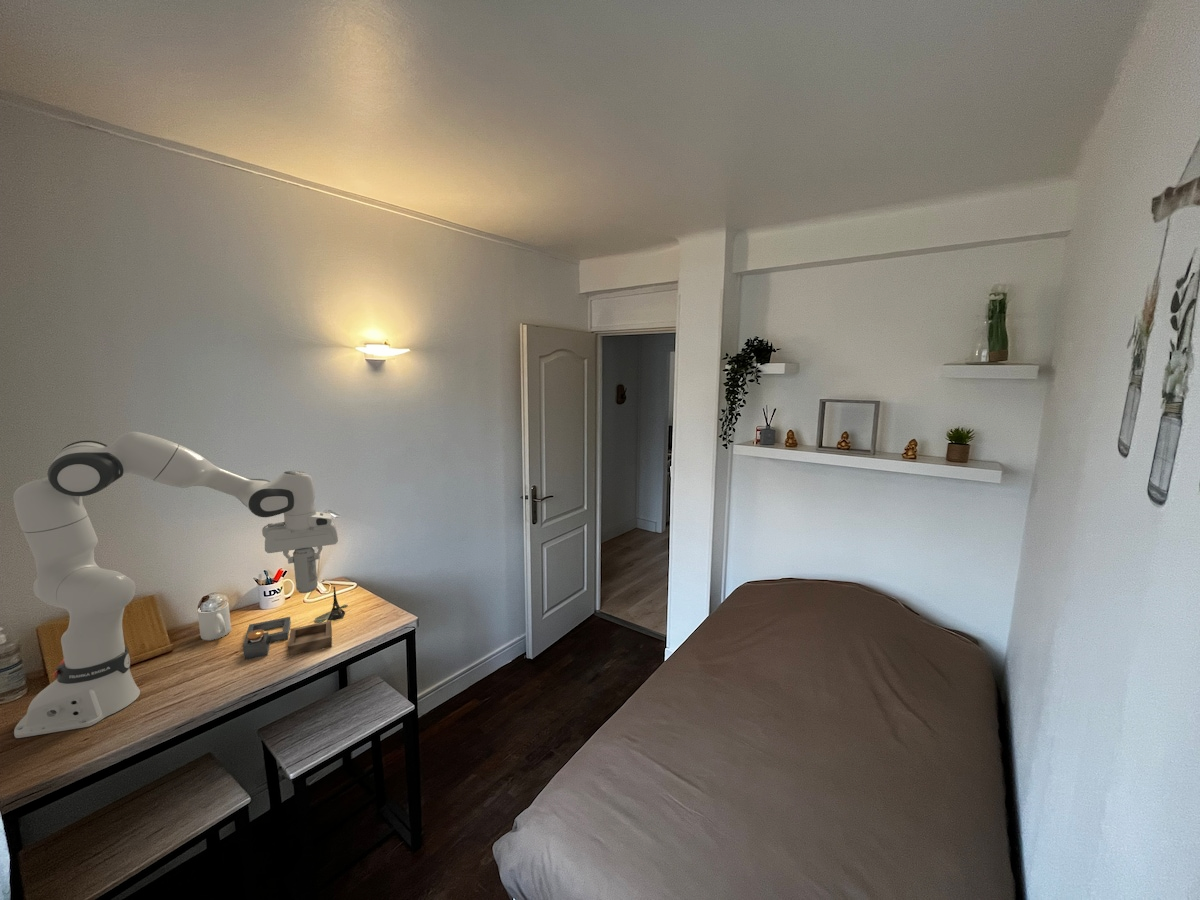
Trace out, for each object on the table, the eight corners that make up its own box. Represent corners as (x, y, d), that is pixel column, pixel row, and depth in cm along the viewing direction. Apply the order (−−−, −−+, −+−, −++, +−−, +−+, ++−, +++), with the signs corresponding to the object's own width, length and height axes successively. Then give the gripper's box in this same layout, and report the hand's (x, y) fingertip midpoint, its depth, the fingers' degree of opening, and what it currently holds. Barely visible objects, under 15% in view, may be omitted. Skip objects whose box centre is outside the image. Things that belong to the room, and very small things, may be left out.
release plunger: (247, 656, 150) (245, 638, 149) (249, 649, 154) (247, 631, 153) (264, 652, 152) (262, 634, 151) (266, 645, 156) (264, 628, 155)
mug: (239, 636, 162) (236, 608, 160) (209, 647, 155) (205, 618, 154) (226, 625, 169) (223, 598, 167) (197, 635, 162) (193, 607, 161)
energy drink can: (302, 585, 160) (298, 543, 157) (321, 585, 160) (317, 543, 157) (292, 594, 154) (288, 550, 151) (312, 594, 154) (308, 550, 151)
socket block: (240, 661, 148) (238, 646, 148) (250, 631, 166) (248, 617, 165) (286, 651, 154) (284, 637, 153) (290, 623, 171) (289, 610, 171)
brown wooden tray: (288, 656, 151) (287, 646, 151) (291, 638, 162) (290, 628, 161) (331, 646, 157) (330, 637, 157) (331, 629, 167) (331, 620, 167)
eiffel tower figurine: (345, 605, 186) (343, 573, 184) (363, 611, 182) (361, 579, 180) (307, 622, 173) (305, 588, 171) (325, 629, 168) (322, 594, 166)
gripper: (260, 527, 145) (264, 570, 147) (336, 518, 155) (339, 558, 157) (262, 521, 150) (266, 563, 152) (336, 513, 160) (339, 552, 162)
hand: (304, 560), depth 155 cm, fingers closed on energy drink can, 6 cm apart
